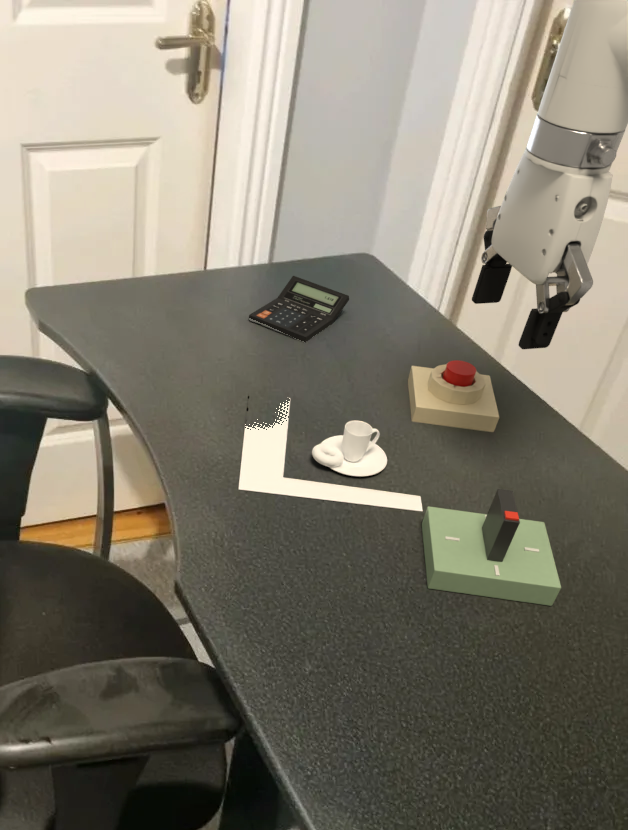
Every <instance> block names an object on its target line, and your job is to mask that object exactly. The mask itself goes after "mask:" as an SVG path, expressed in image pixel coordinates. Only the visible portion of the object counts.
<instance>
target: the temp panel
mask: <svg viewBox="0 0 628 830" xmlns="http://www.w3.org/2000/svg"><path fill="white" fill-rule="evenodd" d="M487 514H488V513H487ZM487 514H486V513H480V512H479V513H478V512H472V511H471V512H470V511H465V510H457V509H450V508H443V507H436V506H427V507H426V510H425V513H424V516H423V520H422V522H421V531H422V532H421V534H422V543H423V553H424V554H423V555H424V562H425V563H424V564H425V574H426V582H427V585H426V586H427V589H429V590H436V591H443V592H450V593H457V594H464V595H472V596H479V597H485V598H492V599H498V600H507V601H515V602H521V603H528V604H535V605H543V606H550V607H553V605H554V603H555V601H556V600H557V597H558V595H559V593H560V592H561V589H562V585H561V581H560V577H559V574H558V573H559V572H558V570H557V566H556V562H555V561H556V560H555V558H554V554H553V550H552V547H551V543H550V542H551V541H550V539H549V535H548V531H547V527H546V523H545V522H544V521H538V520H531V519H524V518H519V521H520V524H519V526H518V528H517V530H516V533H515V535H514V537H513V539H512V542H511V544H510V546H509V548H508V551H507V553H506V555H505V557H504V559H503V562H499V561H492V560H487V555H486V549H485V543H484V537H483V532H482V526H483V524H484V521H485V519H486V516H487Z"/></svg>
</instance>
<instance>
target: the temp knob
mask: <svg viewBox="0 0 628 830" xmlns="http://www.w3.org/2000/svg"><path fill="white" fill-rule="evenodd" d="M519 519H520V516H519V512H518V508H517V502H516V500H515V494H514V490H510V489H503V488H497V489H496V492H495V494H494V496H493V499H492V502H491V504H490V507H489V509H488V511H487V516H486V519H485V521H484V524H483V526H482V532H483V537H484V543H485V549H486V555H487V560H492V561H499V562H503V559H504V557H505V555H506V553H507V551H508V548H509V546H510V544H511V542H512V539H513V537H514V535H515V533H516V530H517V528H518V526H519V524H520V521H519Z"/></svg>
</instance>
